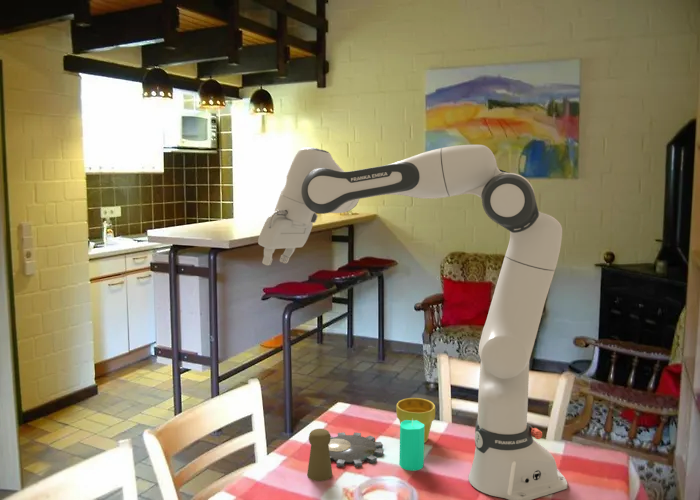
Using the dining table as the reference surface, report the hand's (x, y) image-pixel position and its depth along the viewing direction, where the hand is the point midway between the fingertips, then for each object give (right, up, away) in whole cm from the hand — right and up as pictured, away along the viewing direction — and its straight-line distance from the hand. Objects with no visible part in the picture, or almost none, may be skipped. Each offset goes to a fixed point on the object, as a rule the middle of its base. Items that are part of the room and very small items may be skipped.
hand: (274, 263), depth 148 cm
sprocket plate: (+18, -49, +8) cm, 53 cm away
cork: (+11, -51, -4) cm, 52 cm away
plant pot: (+36, -48, +15) cm, 62 cm away
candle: (+34, -50, +1) cm, 60 cm away
